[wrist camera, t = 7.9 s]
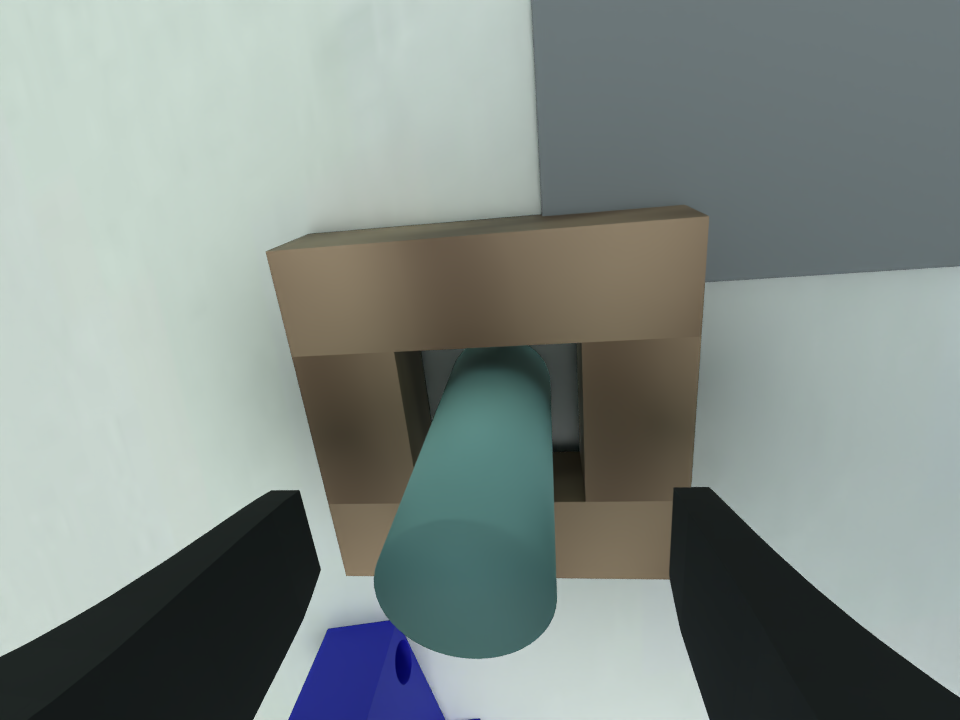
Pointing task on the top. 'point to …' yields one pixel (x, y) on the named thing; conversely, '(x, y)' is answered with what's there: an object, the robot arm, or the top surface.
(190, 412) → the top surface
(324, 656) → the cable clip
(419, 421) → the socket block
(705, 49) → the mat
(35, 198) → the top surface
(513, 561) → the peg
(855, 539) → the top surface
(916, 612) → the top surface
